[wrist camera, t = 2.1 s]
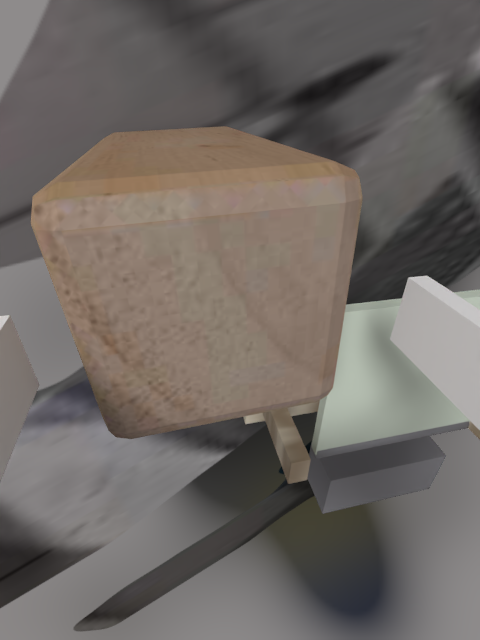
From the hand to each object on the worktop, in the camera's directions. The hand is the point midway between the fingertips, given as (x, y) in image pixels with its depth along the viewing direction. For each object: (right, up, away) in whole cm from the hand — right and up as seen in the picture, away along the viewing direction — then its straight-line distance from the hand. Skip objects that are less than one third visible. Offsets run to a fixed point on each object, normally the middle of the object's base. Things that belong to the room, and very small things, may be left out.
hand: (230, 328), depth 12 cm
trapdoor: (+12, -6, +18) cm, 22 cm away
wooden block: (-5, +10, +17) cm, 20 cm away
